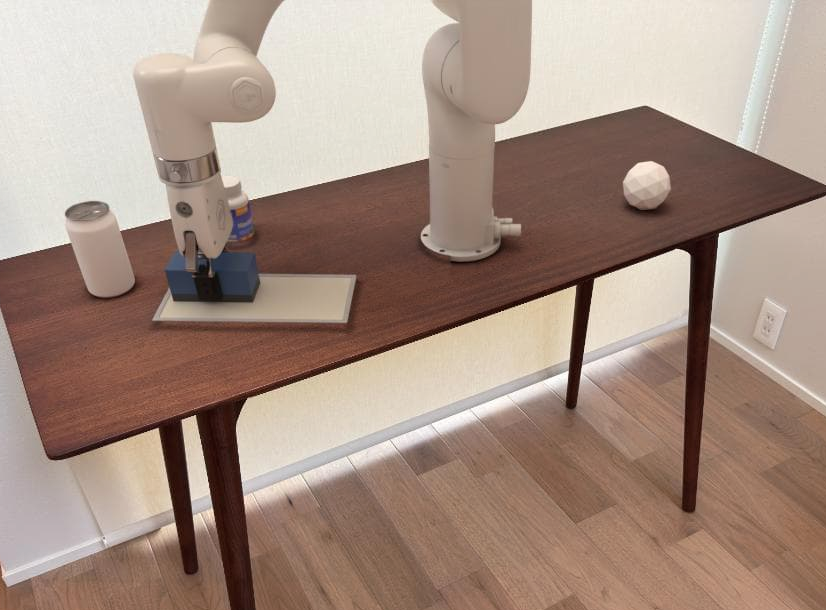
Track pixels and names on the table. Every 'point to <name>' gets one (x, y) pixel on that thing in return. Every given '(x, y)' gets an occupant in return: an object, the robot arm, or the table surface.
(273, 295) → the whiteboard
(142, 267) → the table surface
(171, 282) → the eraser
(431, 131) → the robot arm
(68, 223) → the can
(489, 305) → the table surface
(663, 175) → the geometric ball
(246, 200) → the pill bottle
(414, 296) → the table surface
